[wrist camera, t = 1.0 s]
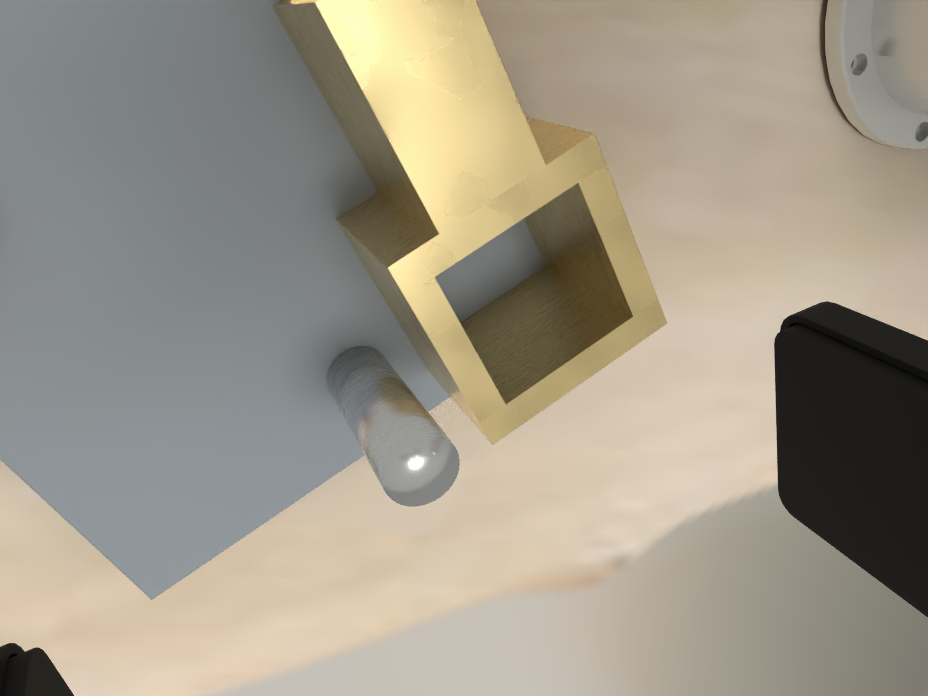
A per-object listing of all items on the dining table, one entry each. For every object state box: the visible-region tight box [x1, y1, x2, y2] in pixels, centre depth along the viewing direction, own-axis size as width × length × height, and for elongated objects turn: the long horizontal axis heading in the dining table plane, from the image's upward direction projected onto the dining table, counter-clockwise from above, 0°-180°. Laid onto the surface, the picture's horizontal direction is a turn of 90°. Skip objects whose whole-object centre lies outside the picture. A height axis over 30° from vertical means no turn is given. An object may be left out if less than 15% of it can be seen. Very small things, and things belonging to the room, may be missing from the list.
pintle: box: [327, 346, 459, 506], centre depth 26 cm, size 2×2×8 cm
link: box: [272, 0, 667, 445], centre depth 23 cm, size 18×7×6 cm, turn 27°
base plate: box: [0, 0, 546, 600], centre depth 26 cm, size 20×19×2 cm
